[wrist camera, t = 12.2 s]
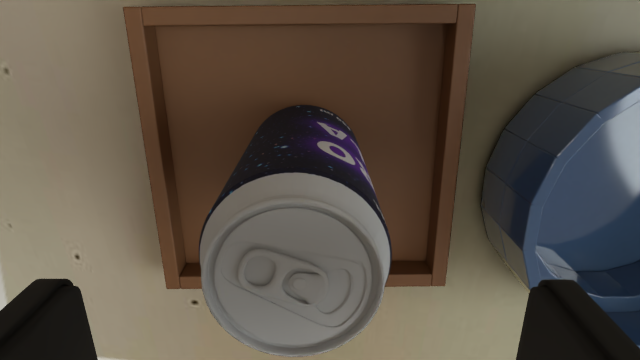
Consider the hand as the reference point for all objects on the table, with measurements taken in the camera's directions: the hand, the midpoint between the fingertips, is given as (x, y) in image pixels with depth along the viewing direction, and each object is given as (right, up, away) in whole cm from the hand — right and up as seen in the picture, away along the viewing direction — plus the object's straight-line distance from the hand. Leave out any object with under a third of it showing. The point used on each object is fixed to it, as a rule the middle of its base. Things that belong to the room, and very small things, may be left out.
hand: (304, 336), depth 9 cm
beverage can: (0, +5, +14) cm, 15 cm away
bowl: (+16, +3, +15) cm, 22 cm away
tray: (-1, +5, +14) cm, 15 cm away
